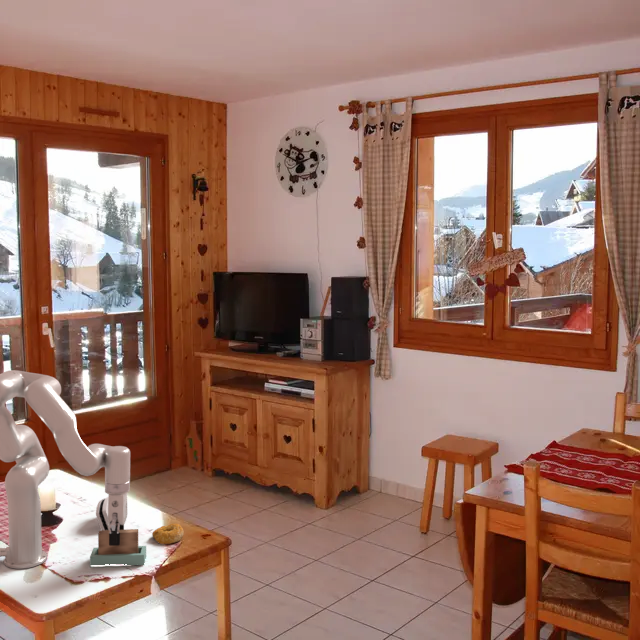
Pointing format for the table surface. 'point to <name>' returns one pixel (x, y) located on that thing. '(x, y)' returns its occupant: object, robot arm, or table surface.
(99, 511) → the white curved piece
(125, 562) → the green rectangular tray
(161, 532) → the bagel
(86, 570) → the table surface
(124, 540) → the brown wooden board
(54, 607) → the table surface
